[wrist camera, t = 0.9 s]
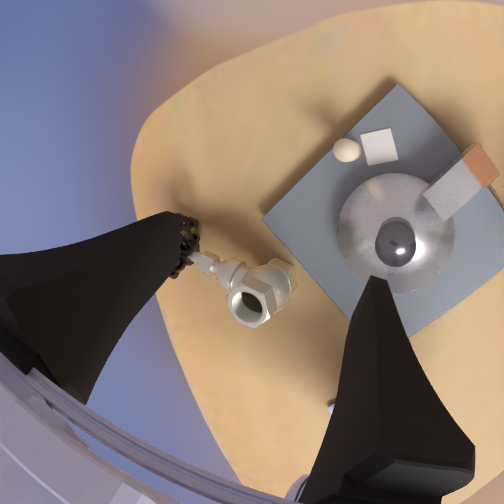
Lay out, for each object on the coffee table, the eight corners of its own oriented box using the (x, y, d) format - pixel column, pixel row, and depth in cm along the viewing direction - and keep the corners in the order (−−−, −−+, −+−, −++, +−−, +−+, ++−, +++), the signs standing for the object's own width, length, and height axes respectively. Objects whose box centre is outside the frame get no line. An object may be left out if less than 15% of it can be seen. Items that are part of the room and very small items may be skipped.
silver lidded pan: (387, 308, 24) (383, 332, 21) (316, 224, 25) (302, 236, 22) (514, 205, 17) (531, 215, 14) (441, 108, 18) (448, 100, 15)
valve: (311, 253, 28) (198, 206, 31) (284, 282, 22) (152, 220, 26) (289, 314, 30) (187, 264, 34) (260, 351, 25) (145, 286, 28)
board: (521, 245, 19) (538, 260, 15) (379, 349, 27) (373, 375, 24) (398, 86, 20) (397, 73, 17) (265, 217, 28) (245, 226, 25)
